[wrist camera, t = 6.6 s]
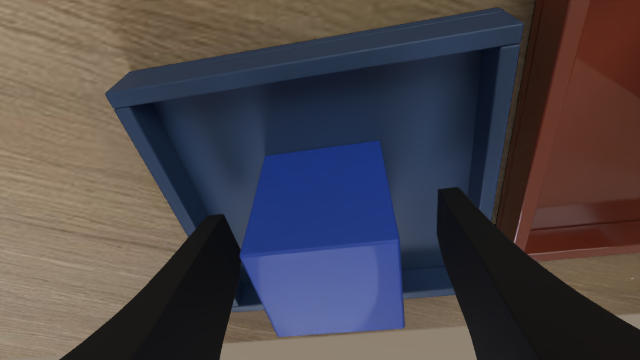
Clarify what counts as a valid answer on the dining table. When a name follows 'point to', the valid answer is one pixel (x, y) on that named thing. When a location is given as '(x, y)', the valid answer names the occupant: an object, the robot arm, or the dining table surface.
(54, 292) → the dining table surface
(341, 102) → the blue tray
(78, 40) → the dining table surface
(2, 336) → the dining table surface
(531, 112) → the terracotta tray
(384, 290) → the blue block
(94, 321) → the dining table surface
